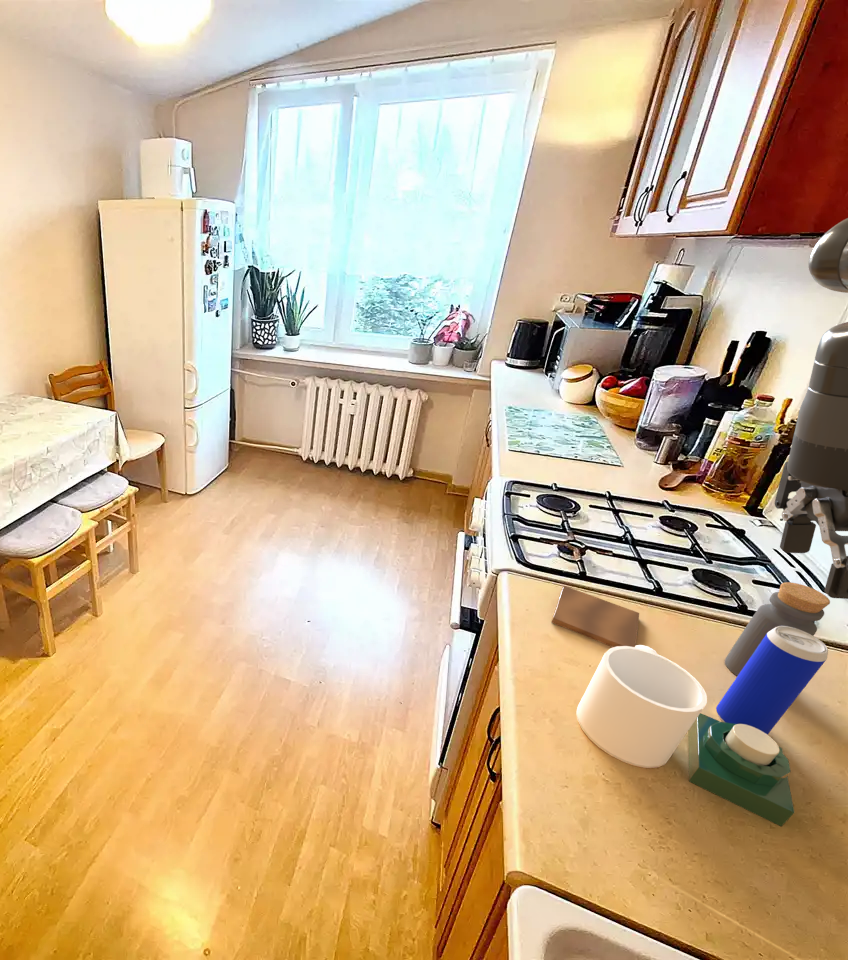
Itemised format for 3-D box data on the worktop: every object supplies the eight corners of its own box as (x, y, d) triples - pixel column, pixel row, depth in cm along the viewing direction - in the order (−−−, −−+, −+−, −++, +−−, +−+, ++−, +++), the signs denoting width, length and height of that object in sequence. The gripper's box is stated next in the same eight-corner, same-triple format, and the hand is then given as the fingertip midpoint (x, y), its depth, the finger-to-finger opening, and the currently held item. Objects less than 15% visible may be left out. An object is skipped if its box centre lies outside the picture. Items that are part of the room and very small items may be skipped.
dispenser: (687, 725, 69) (703, 701, 67) (770, 761, 64) (790, 738, 62) (688, 781, 62) (706, 757, 60) (781, 827, 57) (803, 802, 55)
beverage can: (759, 717, 70) (821, 634, 63) (771, 747, 66) (839, 662, 59) (709, 700, 72) (765, 618, 65) (719, 728, 68) (779, 644, 61)
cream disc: (723, 728, 64) (731, 717, 63) (768, 748, 61) (777, 736, 60) (725, 751, 61) (734, 740, 60) (772, 773, 59) (782, 761, 58)
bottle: (739, 683, 75) (795, 603, 68) (714, 653, 80) (764, 576, 73) (787, 691, 74) (849, 611, 67) (759, 661, 79) (814, 583, 72)
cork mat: (637, 617, 87) (639, 612, 87) (632, 655, 80) (635, 650, 79) (561, 589, 93) (563, 585, 93) (551, 622, 86) (553, 617, 85)
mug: (673, 785, 61) (714, 727, 57) (574, 741, 66) (604, 685, 61) (663, 710, 71) (697, 655, 66) (576, 677, 76) (602, 623, 71)
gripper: (975, 458, 43) (916, 617, 49) (860, 405, 54) (824, 538, 60) (844, 463, 46) (804, 611, 52) (762, 412, 57) (738, 538, 63)
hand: (815, 572), depth 56 cm, fingers open, 8 cm apart
